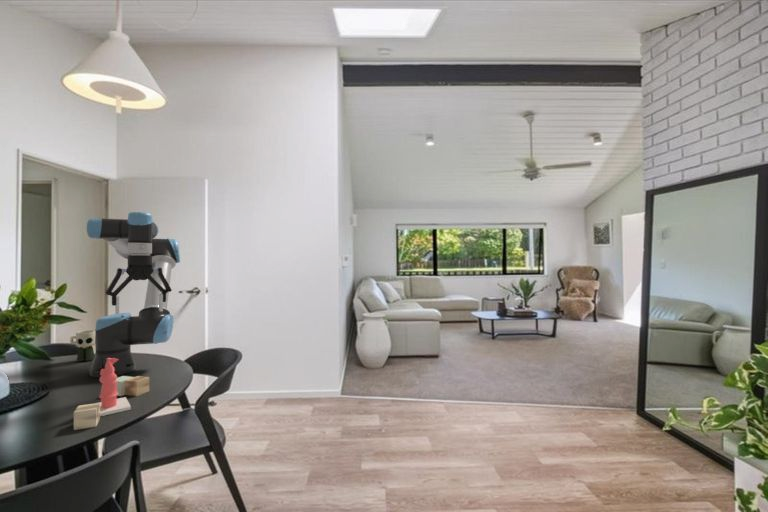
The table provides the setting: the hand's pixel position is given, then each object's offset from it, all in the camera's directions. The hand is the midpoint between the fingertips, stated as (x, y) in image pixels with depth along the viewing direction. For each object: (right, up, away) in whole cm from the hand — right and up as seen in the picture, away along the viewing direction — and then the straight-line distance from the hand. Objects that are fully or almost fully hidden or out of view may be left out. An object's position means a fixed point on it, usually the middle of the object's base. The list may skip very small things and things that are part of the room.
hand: (139, 312), depth 139 cm
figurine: (+4, -26, -21) cm, 33 cm away
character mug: (-44, -26, +31) cm, 60 cm away
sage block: (-2, -27, -7) cm, 28 cm away
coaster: (+4, -27, -21) cm, 34 cm away
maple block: (+5, -27, -31) cm, 42 cm away
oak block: (+4, -27, -7) cm, 28 cm away
